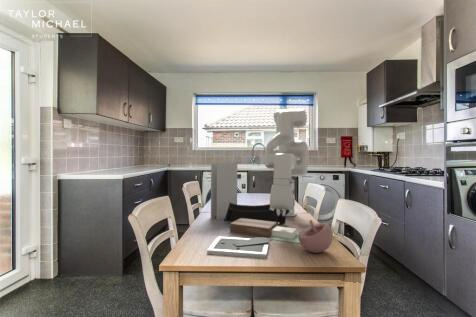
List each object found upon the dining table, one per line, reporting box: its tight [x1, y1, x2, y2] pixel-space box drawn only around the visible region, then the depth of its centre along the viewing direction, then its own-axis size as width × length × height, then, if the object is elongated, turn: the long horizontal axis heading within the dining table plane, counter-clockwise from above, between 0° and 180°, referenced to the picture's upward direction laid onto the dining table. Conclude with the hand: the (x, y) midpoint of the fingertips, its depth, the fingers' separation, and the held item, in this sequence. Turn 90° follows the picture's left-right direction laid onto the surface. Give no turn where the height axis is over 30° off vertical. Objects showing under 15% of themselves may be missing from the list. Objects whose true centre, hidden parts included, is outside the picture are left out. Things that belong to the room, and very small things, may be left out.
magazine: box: [223, 202, 283, 225], centre depth 141 cm, size 17×3×30 cm
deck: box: [229, 218, 278, 238], centre depth 126 cm, size 12×18×4 cm, turn 66°
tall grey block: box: [210, 161, 238, 220], centre depth 155 cm, size 14×6×30 cm, turn 133°
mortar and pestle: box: [298, 219, 334, 254], centre depth 102 cm, size 12×12×12 cm
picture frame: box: [206, 236, 270, 259], centre depth 105 cm, size 16×3×21 cm
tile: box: [271, 225, 297, 239], centre depth 121 cm, size 7×9×2 cm
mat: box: [269, 231, 301, 245], centre depth 120 cm, size 15×14×1 cm
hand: (281, 224), depth 121 cm, fingers closed
